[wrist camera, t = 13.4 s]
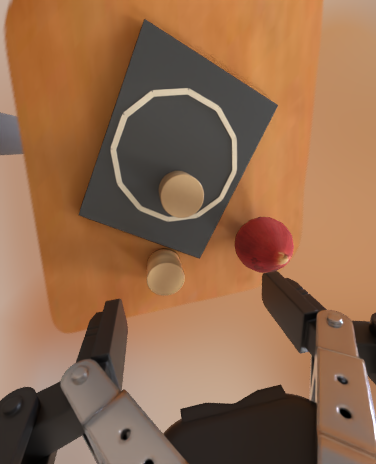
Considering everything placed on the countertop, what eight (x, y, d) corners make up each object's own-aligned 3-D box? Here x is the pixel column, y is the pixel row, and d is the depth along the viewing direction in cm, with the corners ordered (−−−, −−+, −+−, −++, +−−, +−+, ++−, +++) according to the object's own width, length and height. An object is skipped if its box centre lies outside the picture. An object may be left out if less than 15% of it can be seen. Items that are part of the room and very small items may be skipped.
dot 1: (167, 164, 23) (171, 166, 20) (202, 180, 24) (211, 185, 21) (152, 200, 24) (153, 208, 21) (187, 214, 25) (193, 224, 22)
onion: (266, 254, 29) (305, 290, 22) (223, 254, 28) (249, 292, 21) (275, 210, 28) (322, 233, 20) (229, 208, 26) (261, 232, 19)
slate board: (80, 213, 24) (77, 215, 23) (144, 23, 19) (144, 17, 19) (198, 255, 28) (200, 259, 27) (274, 106, 23) (278, 104, 23)
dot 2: (141, 273, 27) (141, 289, 24) (154, 244, 26) (155, 257, 23) (172, 282, 29) (175, 299, 25) (185, 255, 28) (190, 269, 24)
